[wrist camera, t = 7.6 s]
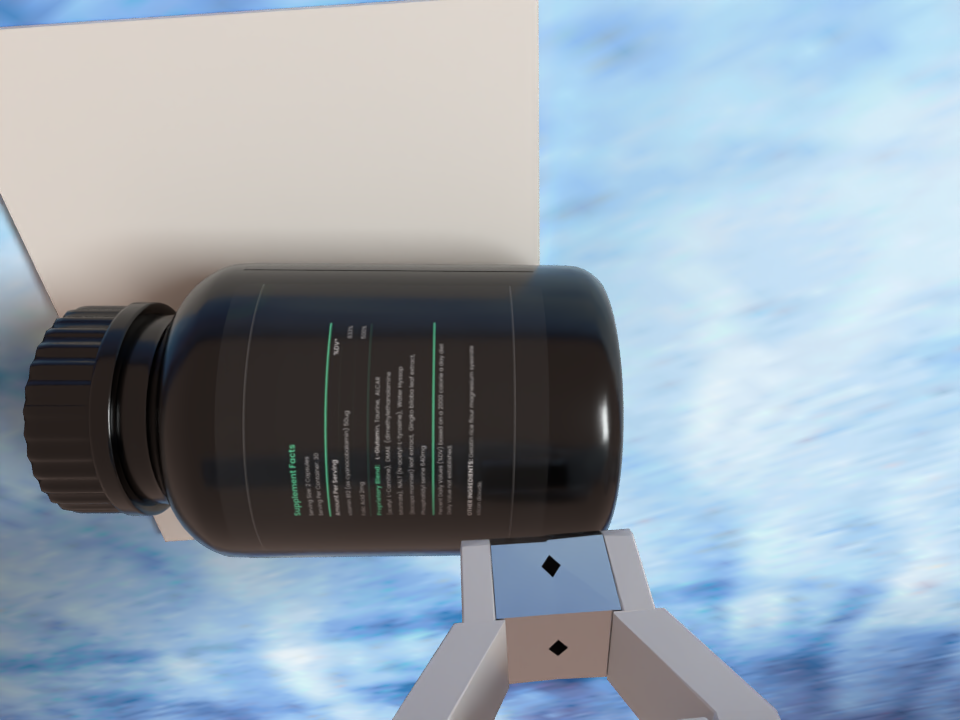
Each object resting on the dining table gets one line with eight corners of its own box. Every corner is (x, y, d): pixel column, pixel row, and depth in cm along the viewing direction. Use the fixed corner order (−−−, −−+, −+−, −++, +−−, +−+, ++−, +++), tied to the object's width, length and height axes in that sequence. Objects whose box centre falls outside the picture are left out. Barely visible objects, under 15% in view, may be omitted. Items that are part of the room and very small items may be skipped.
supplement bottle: (562, 479, 21) (160, 482, 20) (572, 252, 19) (134, 249, 18) (616, 617, 14) (17, 626, 13) (639, 286, 12) (-46, 282, 12)
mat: (539, 506, 24) (540, 514, 23) (169, 532, 24) (165, 541, 23) (536, -9, 15) (538, -7, 14) (-64, 31, 15) (-75, 34, 14)
